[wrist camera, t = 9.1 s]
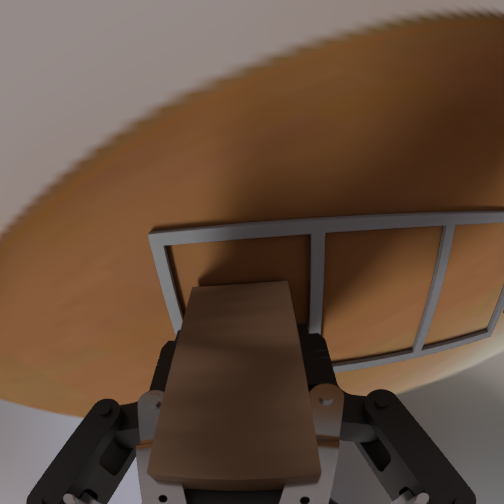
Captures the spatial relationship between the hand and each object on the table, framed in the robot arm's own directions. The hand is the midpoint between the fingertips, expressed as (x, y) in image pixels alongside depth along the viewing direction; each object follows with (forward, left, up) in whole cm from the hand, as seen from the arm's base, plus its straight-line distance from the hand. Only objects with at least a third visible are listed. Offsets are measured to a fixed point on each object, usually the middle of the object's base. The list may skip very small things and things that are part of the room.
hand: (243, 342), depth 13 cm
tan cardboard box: (0, 0, -2) cm, 2 cm away
